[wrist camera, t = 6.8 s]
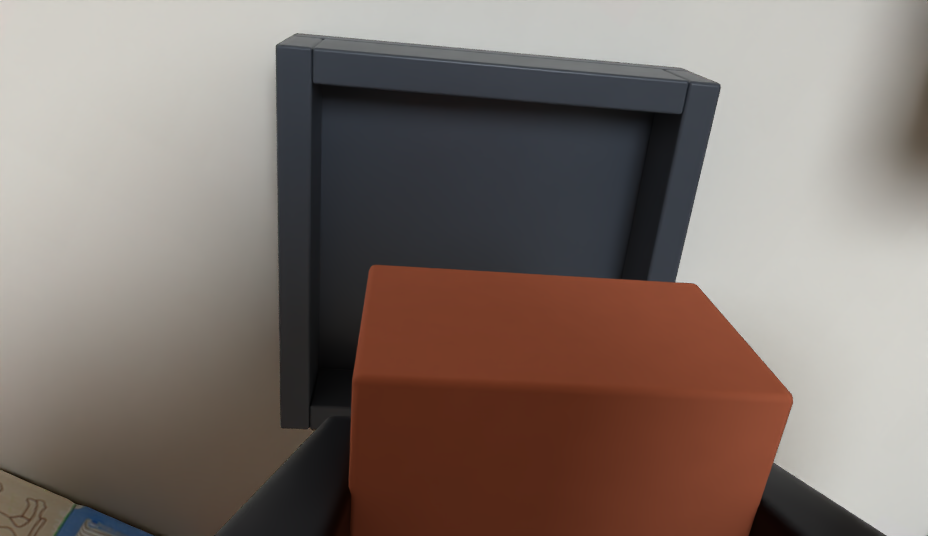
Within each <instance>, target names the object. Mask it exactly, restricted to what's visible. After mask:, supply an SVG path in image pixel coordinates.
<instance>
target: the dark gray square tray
mask: <svg viewBox="0 0 928 536" xmlns="http://www.w3.org/2000/svg"><path fill="white" fill-rule="evenodd" d="M720 88H721V87H720V84H719V83H717V82H714V81H712V80H709V79H707V78H704V77H702V76H699V75H697V74H694V73H692V72H689V71H687V70H685V69H682V68H675V67H663V66H652V65H641V64H630V63H619V62H608V61H597V60H586V59H575V58H564V57H553V56H542V55H531V54H520V53H509V52H498V51H486V50H475V49H464V48H453V47H442V46H431V45H420V44H409V43H398V42H387V41H376V40H365V39H354V38H343V37H332V36H320V35H309V34H298V33H297V34H294V35H293V36H291V37H289V38H287V39H286V40H284V41H282V42H281V43H279V44H277V45H276V108H277V186H278V264H279V343H280V421H281V428H291V429H309V427H310V429H317V428H318V427H319V426H320V425H321V424H322V423H323V422H324V421H325V420H326V419H327V418H329V417H331V416H344V417H351V401H352V378H353V372H354V365H355V359H356V352H357V346H358V339H359V333H360V326H361V320H362V313H363V307H364V300H365V294H366V287H367V281H368V274H369V270H370V268H371V266H373V265H388V266H405V267H422V268H439V269H456V270H472V271H489V272H506V273H523V274H540V275H557V276H574V277H591V278H607V279H624V280H641V281H658V282H675V280H676V276H677V272H678V268H679V263H680V259H681V255H682V251H683V246H684V242H685V238H686V233H687V229H688V225H689V221H690V216H691V212H692V208H693V204H694V199H695V195H696V191H697V186H698V182H699V178H700V174H701V169H702V165H703V161H704V157H705V152H706V148H707V144H708V139H709V135H710V131H711V127H712V122H713V118H714V114H715V109H716V105H717V101H718V97H719V92H720Z"/></svg>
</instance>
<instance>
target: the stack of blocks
mask: <svg viewBox="0 0 928 536" xmlns="http://www.w3.org/2000/svg"><path fill="white" fill-rule="evenodd" d="M0 536H154V535H152V534H149V533H147V532H145V531H142V530H140V529H138V528H135V527H133V526H130V525H128V524H126V523H123V522H121V521H119V520H117V519H114V518H112V517H110V516H107V515H105V514H103V513H100V512H98V511H96V510H93V509H91V508H89V507H87V506H82V505H76V504H74V503H73V502H71V501H70V500H69V499H67V498H64V497H62V496H59V495H56V494H54V493H52V492H50V491H48V490H46V489H43V488H41V487H39V486H36V485H34V484H31V483H29V482H27V481H24V480H22V479H20V478H18V477H15V476H13V475H11V474H8V473H6V472H4V471H2V470H0Z"/></svg>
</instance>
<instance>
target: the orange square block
mask: <svg viewBox="0 0 928 536" xmlns="http://www.w3.org/2000/svg"><path fill="white" fill-rule="evenodd" d="M792 404H793V397H792V394H791V393H790V392H789V391H788V390H787V388H786V387H785V386H784V385H783V384H782V383H781V382H780V380H779V379H778V378H777V377H776V376H775V375H774V373H773V372H772V371H771V370H770V369H769V368H768V367H767V365H766V364H765V363H764V362H763V361H762V360H761V358H760V357H759V356H758V355H757V354H756V353H755V352H754V350H753V349H752V348H751V347H750V346H749V345H748V343H747V342H746V341H745V340H744V339H743V338H742V337H741V335H740V334H739V333H738V332H737V331H736V330H735V329H734V327H733V326H732V325H731V324H730V323H729V322H728V320H727V319H726V318H725V317H724V316H723V315H722V314H721V312H720V311H719V310H718V309H717V308H716V307H715V305H714V304H713V303H712V302H711V301H710V300H709V299H708V297H707V296H706V295H705V294H704V293H703V292H702V290H701V289H700V288H699V287H698V286H697V285H695V284H692V283H675V282H658V281H641V280H624V279H607V278H591V277H574V276H557V275H540V274H523V273H506V272H489V271H472V270H456V269H439V268H422V267H405V266H388V265H373V266H371V268H370V270H369V274H368V281H367V287H366V294H365V300H364V307H363V313H362V320H361V326H360V333H359V339H358V346H357V352H356V359H355V365H354V372H353V378H352V401H351V431H350V461H349V489H350V493H351V517H350V536H749V533H750V530H751V527H752V524H753V521H754V517H755V514H756V511H757V508H758V506H759V504H760V501H761V498H762V495H763V492H764V489H765V486H766V483H767V480H768V477H769V474H770V471H771V468H772V465H773V462H774V458H775V455H776V452H777V449H778V446H779V443H780V440H781V437H782V434H783V431H784V428H785V425H786V422H787V419H788V416H789V413H790V410H791V407H792Z"/></svg>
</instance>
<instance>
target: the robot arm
mask: <svg viewBox="0 0 928 536" xmlns="http://www.w3.org/2000/svg"><path fill="white" fill-rule="evenodd" d="M350 431H351V417H344V416H331V417H329V418H327V419H326V420H325V421H324V422H323V423H322V424H321V425H320V426H319V427H318V428H317V429H316V430H315V431H314V432H313V433H312V434H311V435H310V437H309V438H308V439H307V440H306V441H305V442H304V443H303V444H302V445H301V446H300V447H299V448H298V449H297V450H296V451H295V452H294V453H293V454H292V455H291V456H290V457H289V458H288V459H287V460H286V462H285V463H284V464H283V465H282V466H281V467H280V468H279V469H278V470H277V471H276V472H275V473H274V474H273V475H272V476H271V477H270V478H269V479H268V480H267V481H266V482H265V483H264V484H263V485H262V486H261V488H260V489H259V490H258V491H257V492H256V493H255V494H254V495H253V496H252V497H251V498H250V499H249V500H248V501H247V502H246V503H245V504H244V505H243V506H242V507H241V508H240V509H239V510H238V511H237V513H236V514H235V515H234V516H233V517H232V518H231V519H230V520H229V521H228V522H227V523H226V524H225V525H224V526H223V527H222V528H221V529H220V530H219V531H218V532H217V533H216V534H215V535H214V536H350V517H351V493H350V489H349V461H350ZM749 536H886V535H885V534H883V533H882V532H880V531H878V530H877V529H875V528H874V527H872V526H871V525H869V524H868V523H866V522H864V521H863V520H861V519H860V518H858V517H857V516H855V515H854V514H852V513H850V512H849V511H847V510H846V509H844V508H843V507H841V506H840V505H838V504H837V503H835V502H833V501H832V500H830V499H829V498H827V497H826V496H824V495H823V494H821V493H819V492H818V491H816V490H815V489H813V488H812V487H810V486H809V485H807V484H806V483H804V482H802V481H801V480H799V479H798V478H796V477H795V476H793V475H792V474H790V473H788V472H787V471H785V470H784V469H782V468H781V467H779V466H778V465H776V464H775V463H773V465H772V468H771V471H770V474H769V477H768V480H767V483H766V486H765V489H764V492H763V495H762V498H761V501H760V504H759V506H758V508H757V511H756V514H755V517H754V521H753V524H752V527H751V530H750V533H749Z"/></svg>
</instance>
